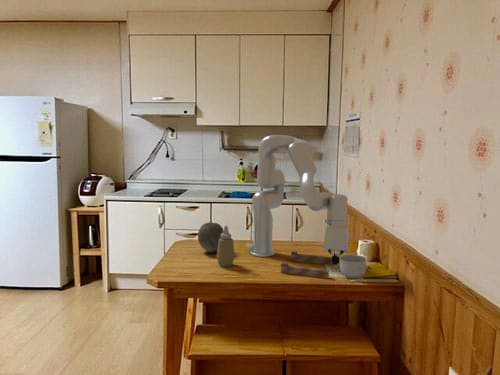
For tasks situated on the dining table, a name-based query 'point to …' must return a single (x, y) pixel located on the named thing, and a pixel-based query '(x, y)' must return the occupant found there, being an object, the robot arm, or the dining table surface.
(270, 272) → the dining table surface
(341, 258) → the teacup
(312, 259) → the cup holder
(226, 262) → the squeeze bottle
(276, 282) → the dining table surface
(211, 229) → the cantaloupe
